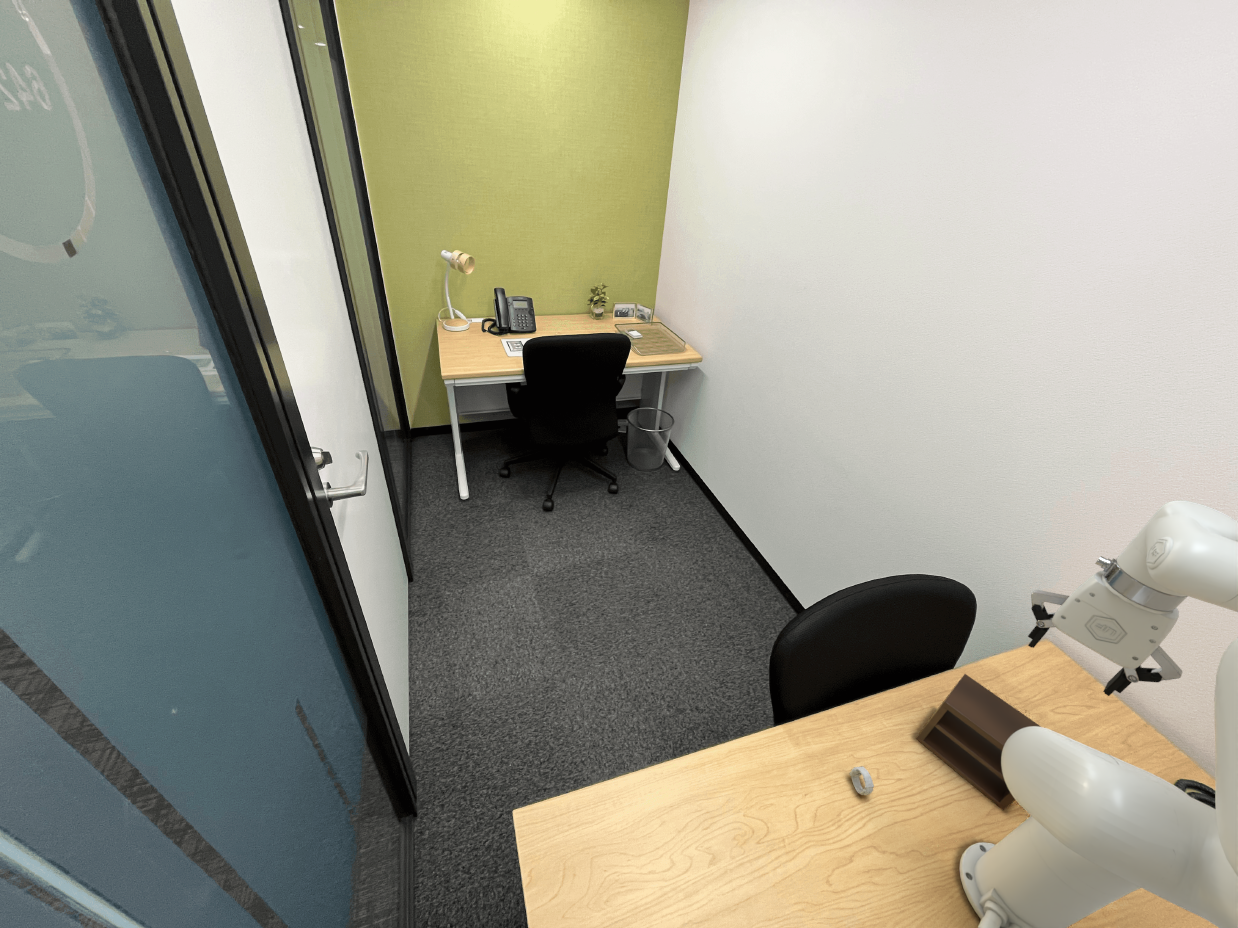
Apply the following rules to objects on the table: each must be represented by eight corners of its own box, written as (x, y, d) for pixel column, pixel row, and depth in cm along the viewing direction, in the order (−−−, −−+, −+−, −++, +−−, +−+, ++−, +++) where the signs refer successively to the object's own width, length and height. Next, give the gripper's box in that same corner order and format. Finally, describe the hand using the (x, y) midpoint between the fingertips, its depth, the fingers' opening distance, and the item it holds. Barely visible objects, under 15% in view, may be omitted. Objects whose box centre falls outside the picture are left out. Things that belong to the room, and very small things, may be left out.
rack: (1003, 810, 79) (1043, 774, 73) (915, 738, 88) (944, 701, 82) (1020, 774, 85) (1059, 739, 78) (936, 710, 93) (965, 673, 87)
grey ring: (869, 798, 79) (879, 786, 77) (857, 800, 79) (866, 788, 76) (857, 774, 82) (866, 762, 80) (845, 776, 82) (854, 763, 80)
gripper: (1059, 557, 70) (998, 636, 79) (1229, 643, 59) (1135, 724, 68) (1073, 539, 74) (1014, 617, 83) (1235, 616, 63) (1146, 696, 72)
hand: (1068, 665), depth 75 cm, fingers open, 9 cm apart
